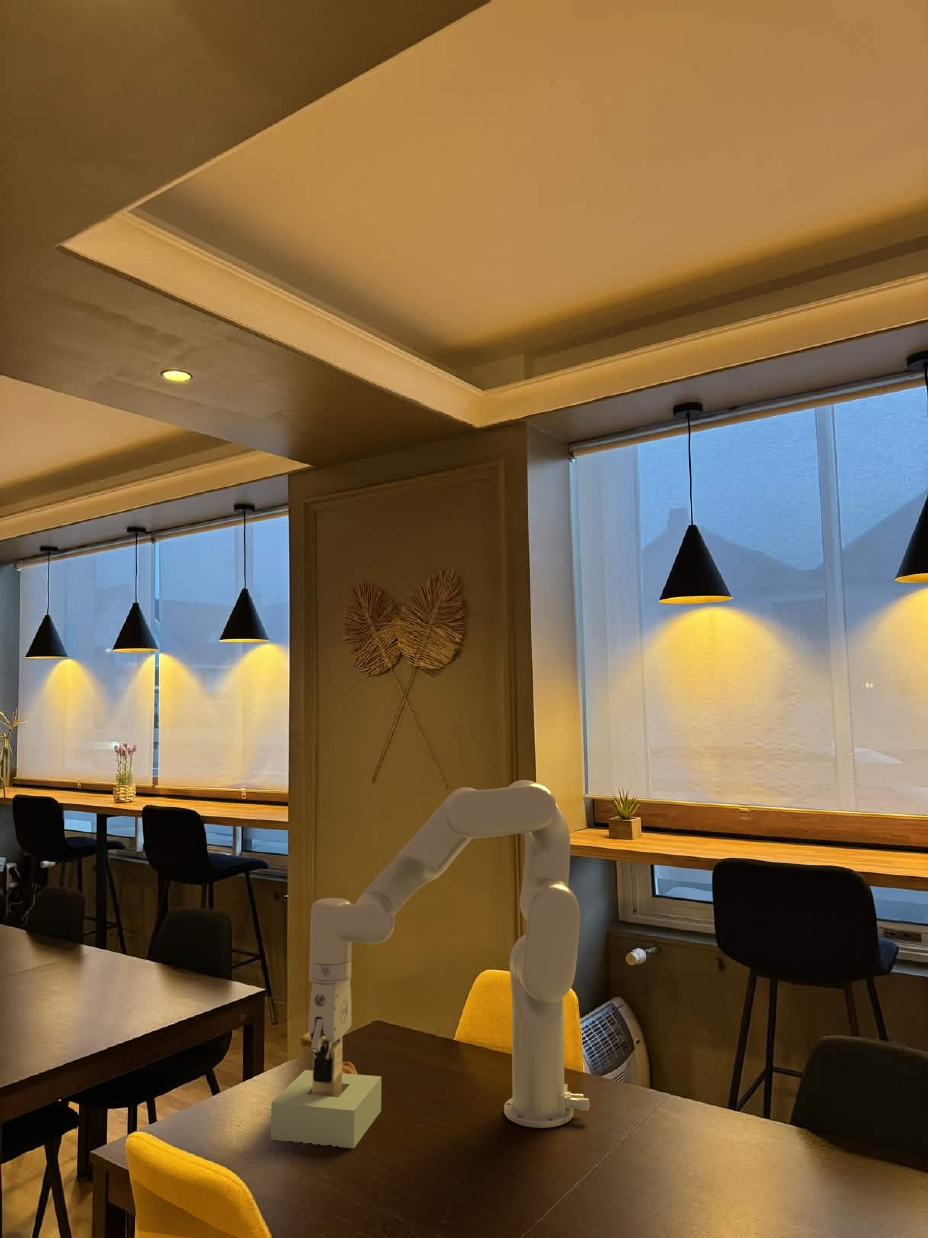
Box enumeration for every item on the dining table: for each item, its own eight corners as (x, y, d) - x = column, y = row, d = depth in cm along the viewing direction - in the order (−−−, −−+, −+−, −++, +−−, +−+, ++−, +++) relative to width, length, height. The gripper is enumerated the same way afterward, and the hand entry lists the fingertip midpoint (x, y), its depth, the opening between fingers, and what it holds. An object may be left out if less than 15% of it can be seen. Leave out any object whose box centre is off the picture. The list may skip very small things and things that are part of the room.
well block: (381, 1111, 165) (381, 1076, 165) (353, 1148, 150) (354, 1110, 151) (304, 1103, 168) (305, 1070, 168) (270, 1139, 153) (271, 1102, 154)
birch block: (341, 1100, 161) (342, 1042, 162) (333, 1109, 157) (334, 1049, 158) (320, 1098, 162) (321, 1040, 163) (311, 1107, 158) (313, 1047, 159)
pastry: (323, 1099, 170) (323, 1078, 171) (302, 1089, 175) (302, 1069, 175) (361, 1085, 177) (361, 1064, 177) (340, 1076, 182) (340, 1056, 182)
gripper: (333, 984, 153) (330, 1097, 151) (364, 959, 169) (362, 1061, 167) (292, 981, 155) (289, 1093, 153) (327, 957, 171) (325, 1058, 169)
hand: (327, 1075), depth 160 cm, fingers closed on birch block, 4 cm apart
